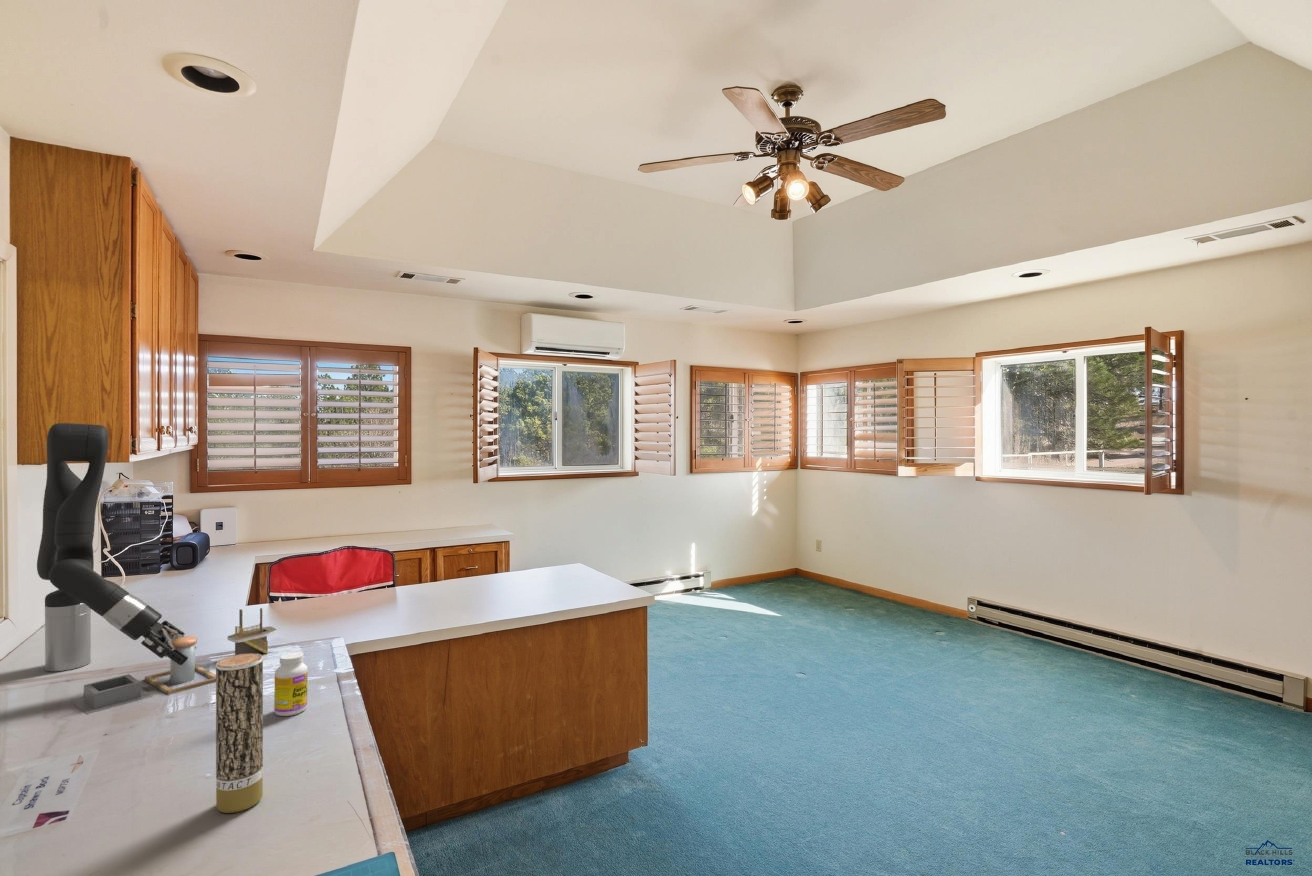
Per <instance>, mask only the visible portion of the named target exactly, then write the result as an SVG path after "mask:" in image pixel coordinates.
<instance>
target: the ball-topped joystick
mask: <svg viewBox="0 0 1312 876" xmlns="http://www.w3.org/2000/svg"><path fill="white" fill-rule="evenodd" d="M197 642H198V637H197V636H195V635H193V636H192V635H189V636H184V637H179V638H175V639H172V645H173V646H174V647H175V649H177V650H179V651H180V652H181V653H183V654H184V655H186V656H187V657H188V659H187V661H186V662H184V663H183V664H182V665H179V664H177V663H176V662H174V661H173V660H171V659H170V667H169V668H170V669H169V670H170V675H169V683H170V684H171V685H180V684H186V683H189V682H192V681H193V680H195V676H196V674H195V672H196V670H195V664H196V649H195V646H196V644H197Z"/></svg>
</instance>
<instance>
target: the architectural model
mask: <svg viewBox="0 0 1312 876" xmlns="http://www.w3.org/2000/svg"><path fill="white" fill-rule="evenodd" d="M238 613H239V626H234V628H235V629H234V630H235V631H234V633H233V634H230V635H228V636H227V641H230V642H233V643H234V655H239V654H249V653H255V654H261V653H262V654H263V653H264V654H267V655H268V654H269V653H270V652H269V651H268V644H269V643H268V642H269V641H268V637H269V636H271V635H273V634H276V633H278V629H277V628H275V627H273V626H264V627H263V608H262V607H261V608H259V624H255V625H251V626H248V627H243V609H241V608H240V609H239V612H238Z"/></svg>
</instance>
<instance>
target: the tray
mask: <svg viewBox="0 0 1312 876" xmlns="http://www.w3.org/2000/svg"><path fill="white" fill-rule="evenodd" d="M195 672H198V673H200V674H202V675H203V676H204V677H205V676H206V677H207V678H209V679H206V680H202V681H198V682H195V683H190V684H187V685H184V686H180V687H177V688H175V687H174V688H173V689H172V688H170V687H169V686H167V685H166V684H165V683H162V682H161V681H159V680H158V678H161V677H166V676H170V669H168V670H165V671H162V672H158V673H153V674H150V675H146V676H144V681H147V682H148V683H149V684H151V685H152V686H154V687H156V688H157V689H159V690H160V691H162V692H164V693H165V694H166V695H168V696H171V695H173V694H176V693H181V692H184V691H188V690H190V689H191V690H192V689H195V688H199V687H202V686H205V685H210V684H213V683H216V673H213V672H212V671H210V670H207V669H206V668H204V667H202V666H200V665H198V664H197V663H195ZM156 678H157V679H156Z"/></svg>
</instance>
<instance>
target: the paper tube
mask: <svg viewBox="0 0 1312 876" xmlns="http://www.w3.org/2000/svg"><path fill="white" fill-rule="evenodd" d="M263 672H264V658H263V655H262V654H261V653H258V654H255V653H249V654H239V655H235V654H234V655H230V656H227V657H225V658H221V659H220V660H218V661H217V662H216V667H215V675H216V682H215V787H216V789H215V790H216V793H215V794H216V797H215V799H216V800H215V801H216V802H215V805H216V809H217V810H218V811H219V812H221V813H224V814H233V813H239V812H243V811H246V810H248V809H251V808H252V807H253V806H255V805H256V804H258V803H259V802H260V801H261V799H262V797H263V796H264V795H263V793H264V786H263V785H264V784H263V783H264V782H263V781H264V778H263V777H264V776H263V775H264V763H263V762H264V739H263V738H264V711H263V710H264V687H263V686H264V683H263V682H264V673H263Z"/></svg>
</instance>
